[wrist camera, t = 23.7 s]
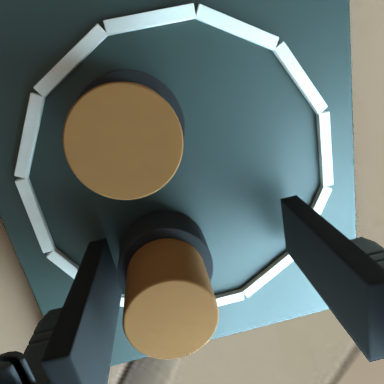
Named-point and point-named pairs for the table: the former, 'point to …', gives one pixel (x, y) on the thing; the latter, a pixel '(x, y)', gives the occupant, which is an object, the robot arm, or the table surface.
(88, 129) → the stamp
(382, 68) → the table surface
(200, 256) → the stamp
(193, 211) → the slate board
